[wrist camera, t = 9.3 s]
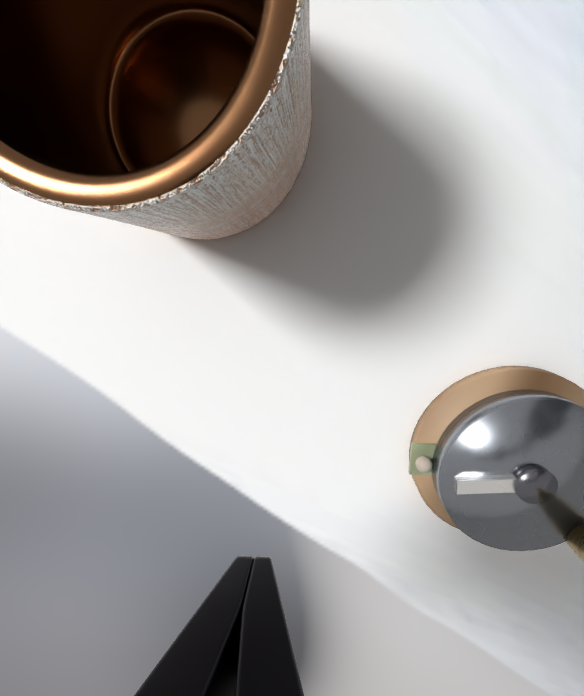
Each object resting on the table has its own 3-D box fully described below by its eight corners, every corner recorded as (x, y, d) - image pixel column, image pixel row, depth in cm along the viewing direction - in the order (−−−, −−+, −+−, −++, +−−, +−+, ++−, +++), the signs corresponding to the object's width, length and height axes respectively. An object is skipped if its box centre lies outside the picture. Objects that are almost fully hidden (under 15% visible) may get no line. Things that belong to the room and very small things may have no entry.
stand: (617, 366, 18) (651, 377, 16) (577, 529, 21) (602, 555, 19) (412, 365, 19) (424, 376, 17) (400, 524, 22) (408, 548, 20)
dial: (433, 394, 18) (477, 441, 13) (612, 384, 17) (726, 429, 13) (429, 534, 20) (466, 618, 15) (587, 530, 20) (676, 616, 15)
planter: (75, 9, 16) (-271, -366, 6) (304, -22, 15) (295, -499, 6) (121, 248, 18) (-75, 232, 9) (317, 232, 17) (325, 197, 8)
